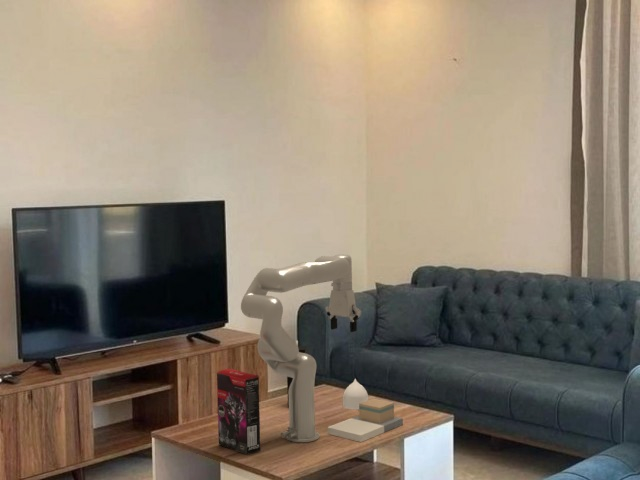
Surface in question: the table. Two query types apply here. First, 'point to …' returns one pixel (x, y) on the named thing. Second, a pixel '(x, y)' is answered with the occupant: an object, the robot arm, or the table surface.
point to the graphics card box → (238, 411)
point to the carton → (376, 410)
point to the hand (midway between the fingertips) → (343, 330)
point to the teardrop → (354, 396)
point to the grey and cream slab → (362, 428)
